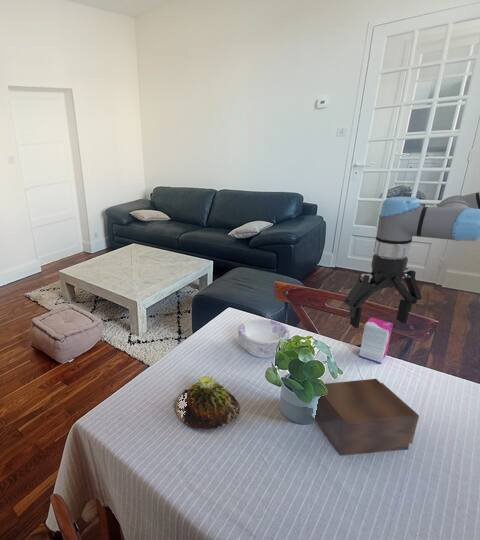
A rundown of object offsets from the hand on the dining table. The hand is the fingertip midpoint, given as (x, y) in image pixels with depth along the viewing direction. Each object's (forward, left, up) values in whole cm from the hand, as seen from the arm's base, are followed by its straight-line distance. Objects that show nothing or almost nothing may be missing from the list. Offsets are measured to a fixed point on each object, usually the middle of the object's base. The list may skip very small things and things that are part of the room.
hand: (377, 323), depth 99 cm
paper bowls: (+31, +2, -11) cm, 33 cm away
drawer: (+10, +31, -10) cm, 34 cm away
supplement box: (0, 0, -12) cm, 12 cm away
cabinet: (+12, +32, -11) cm, 36 cm away
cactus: (+46, +32, -12) cm, 57 cm away
